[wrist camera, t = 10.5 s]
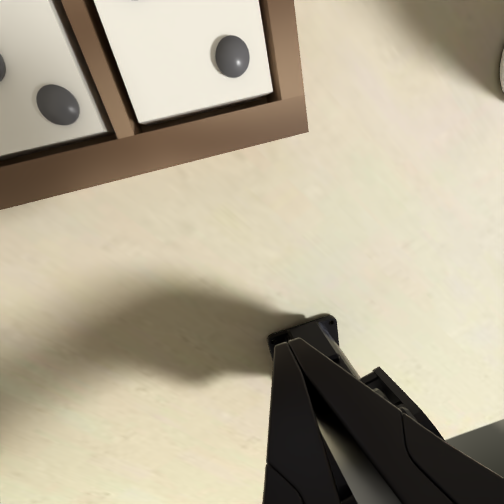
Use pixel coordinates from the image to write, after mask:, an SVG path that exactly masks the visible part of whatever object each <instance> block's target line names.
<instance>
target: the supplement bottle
mask: <svg viewBox="0 0 504 504" xmlns="http://www.w3.org/2000/svg"><path fill="white" fill-rule="evenodd" d="M500 82H501V86H502V90H503V92H504V50H503V53H502V58H501V63H500Z"/></svg>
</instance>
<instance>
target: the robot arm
mask: <svg viewBox="0 0 504 504" xmlns="http://www.w3.org/2000/svg"><path fill="white" fill-rule="evenodd" d="M330 321H331V322H330ZM274 339H275V340H274ZM272 340H273V341H272ZM267 342H268V345H269V349H270V353H271V357H272V361H273V373H272V387H271V401H270V415H269V429H268V443H267V457H266V463H267V464H266V468H265V482H264V492H263V502H262V504H504V478H503V477H501V476H500V475H498V474H497V473H495V472H493V471H492V470H490V469H488V468H486V467H485V466H483V465H482V464H480V463H478V462H477V461H475V460H474V459H472V458H470V457H469V456H467V455H466V454H464V453H463V452H461V451H459V450H458V449H456V448H455V447H453V446H451V445H450V444H448V443H447V442H445V440H444V439H443V437H442V436H441V434H440V433H439V432H438V430H437V429H436V428H435V426H434V425H433V424H432V422H431V421H430V420H429V419H428V417H427V416H426V415H425V414H424V413H423V411H422V410H421V409H420V408H419V407H418V406H417V405H416V404H415V403H414V402H413V401H412V400H411V399H410V398H409V397H408V396H407V394H406V393H405V392H404V391H403V390H402V389H401V388H400V387H399V386H398V385H397V384H396V383H395V382H394V381H393V380H392V379H391V378H390V377H389V376H388V375H387V374H386V373H385V372H384V371H383V370H382V369H381V368H380V367H377V368H376V369H374V370H373V372H371V373H369V374H368V375H366V376H364V377H362V378H360V376H359V375H358V373H357V372H356V371H355V369H354V368H353V366H352V365H351V363H350V362H349V360H348V359H347V358H346V356H345V355H344V353H343V352H342V350H341V349H340V348H339V340H338V330H337V321H336V319H335V318H334V316H327V317H324V318H321V319H318V320H314V321H311V322H308V323H305V324H302V325H299V326H296V327H293V328H290V329H287V330H284V331H281V332H278V333H274V334H271V335H269V336H268V338H267Z"/></svg>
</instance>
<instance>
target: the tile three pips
mask: <svg viewBox="0 0 504 504" xmlns="http://www.w3.org/2000/svg"><path fill="white" fill-rule="evenodd" d="M113 134H116V133H115V131H114V128H113V126H112V123H111V121H110V118H109V116H108V114H107V111H106V109H105V106H104V104H103V101H102V99H101V97H100V94H99V92H98V89H97V87H96V84H95V82H94V80H93V77H92V75H91V72H90V70H89V67H88V65H87V63H86V60H85V58H84V55H83V53H82V50H81V48H80V46H79V43H78V41H77V38H76V36H75V33H74V31H73V29H72V26H71V24H70V21H69V19H68V16H67V14H66V12H65V9H64V7H63V4H62V2H61V0H0V161H3V160H7V159H11V158H16V157H20V156H24V155H28V154H32V153H37V152H41V151H45V150H49V149H54V148H58V147H62V146H66V145H71V144H75V143H79V142H83V141H87V140H92V139H96V138H100V137H104V136H109V135H113Z"/></svg>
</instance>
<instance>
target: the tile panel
mask: <svg viewBox="0 0 504 504" xmlns="http://www.w3.org/2000/svg"><path fill="white" fill-rule="evenodd" d="M61 2H62V4H63V7H64V9H65V12H66V14H67V16H68V19H69V21H70V24H71V26H72V29H73V31H74V33H75V36H76V38H77V41H78V43H79V46H80V48H81V50H82V53H83V55H84V58H85V60H86V63H87V65H88V67H89V70H90V72H91V75H92V77H93V80H94V82H95V84H96V87H97V89H98V92H99V94H100V97H101V99H102V101H103V104H104V106H105V109H106V111H107V114H108V116H109V118H110V121H111V123H112V126H113V128H114V131H115V133H116V134H113V135H109V136H104V137H100V138H96V139H92V140H87V141H83V142H79V143H75V144H71V145H66V146H62V147H58V148H54V149H49V150H45V151H41V152H37V153H32V154H28V155H24V156H20V157H16V158H11V159H7V160H3V161H0V210H2V209H6V208H10V207H14V206H18V205H22V204H26V203H30V202H33V201H37V200H41V199H45V198H49V197H53V196H57V195H61V194H65V193H69V192H73V191H77V190H81V189H85V188H89V187H93V186H97V185H101V184H105V183H109V182H112V181H116V180H120V179H124V178H128V177H132V176H136V175H140V174H144V173H148V172H152V171H156V170H160V169H164V168H168V167H172V166H176V165H180V164H184V163H188V162H192V161H195V160H199V159H203V158H207V157H211V156H215V155H219V154H223V153H227V152H231V151H235V150H239V149H243V148H247V147H251V146H255V145H259V144H263V143H267V142H271V141H274V140H278V139H282V138H286V137H290V136H294V135H298V134H302V133H306V132H309V131H308V122H307V113H306V104H305V95H304V87H303V78H302V69H301V60H300V51H299V42H298V34H297V25H296V16H295V7H294V0H259V6H260V13H261V19H262V25H263V32H264V38H265V44H266V51H267V57H268V63H269V70H270V76H271V82H272V89H273V92H271V93H270V94H268V95H266V96H265V97H263V98H262V99H260V100H256V101H252V102H247V103H243V104H239V105H235V106H230V107H226V108H222V109H218V110H214V111H209V112H205V113H201V114H197V115H192V116H188V117H184V118H180V119H176V120H171V121H167V122H163V123H159V124H154V125H150V126H147V125H144V124H141V123H139V122H138V119H137V116H136V114H135V111H134V108H133V105H132V103H131V100H130V97H129V95H128V92H127V89H126V86H125V84H124V81H123V78H122V76H121V73H120V70H119V67H118V65H117V62H116V59H115V57H114V54H113V51H112V49H111V46H110V43H109V40H108V38H107V35H106V32H105V30H104V27H103V24H102V21H101V19H100V16H99V13H98V11H97V8H96V5H95V3H94V0H61Z"/></svg>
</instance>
